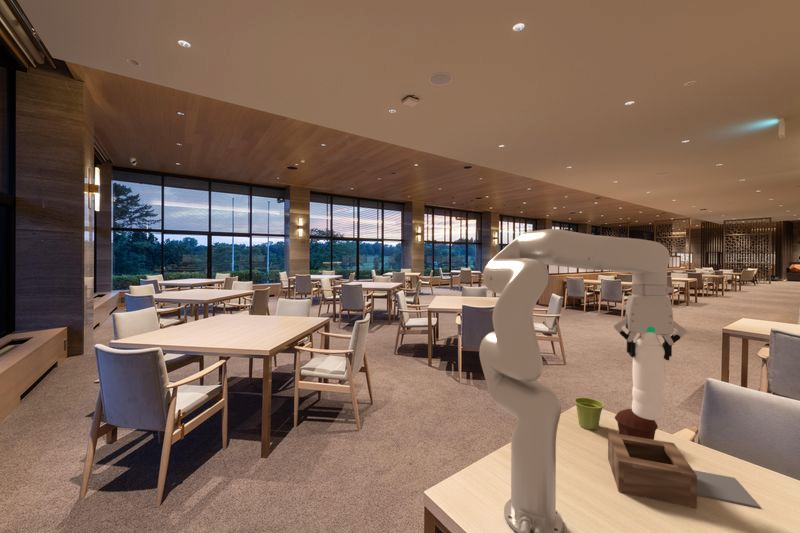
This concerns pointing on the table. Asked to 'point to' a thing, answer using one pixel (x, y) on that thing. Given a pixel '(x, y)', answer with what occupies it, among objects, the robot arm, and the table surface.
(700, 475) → the mat
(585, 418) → the plant pot
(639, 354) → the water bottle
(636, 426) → the muffin
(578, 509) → the table surface
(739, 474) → the table surface
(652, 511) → the table surface
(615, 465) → the slot box
